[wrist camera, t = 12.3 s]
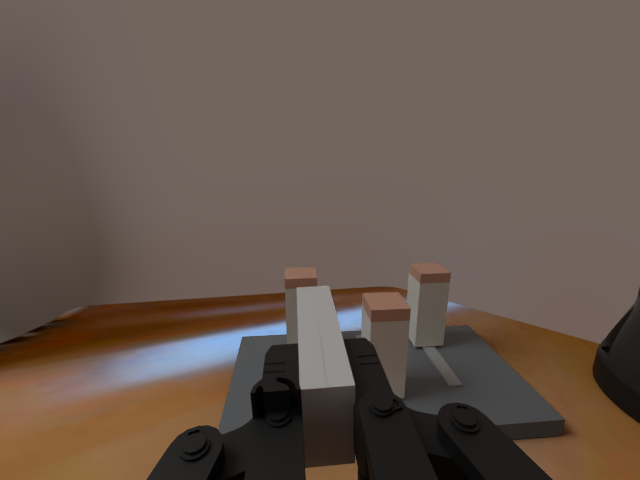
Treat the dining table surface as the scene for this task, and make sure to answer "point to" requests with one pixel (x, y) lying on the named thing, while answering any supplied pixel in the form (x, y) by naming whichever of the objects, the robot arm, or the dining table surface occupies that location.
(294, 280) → the white brown-topped block
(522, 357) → the dining table surface
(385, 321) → the switch
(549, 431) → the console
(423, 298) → the switch
